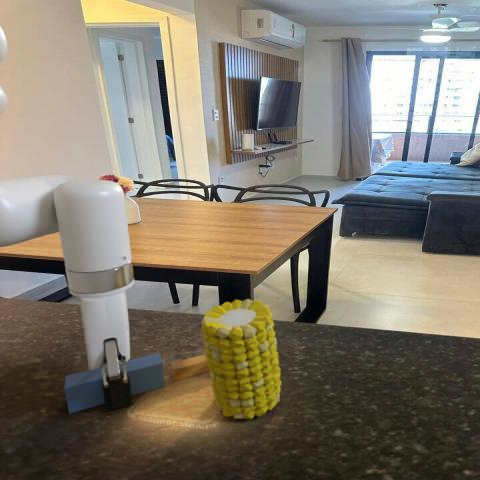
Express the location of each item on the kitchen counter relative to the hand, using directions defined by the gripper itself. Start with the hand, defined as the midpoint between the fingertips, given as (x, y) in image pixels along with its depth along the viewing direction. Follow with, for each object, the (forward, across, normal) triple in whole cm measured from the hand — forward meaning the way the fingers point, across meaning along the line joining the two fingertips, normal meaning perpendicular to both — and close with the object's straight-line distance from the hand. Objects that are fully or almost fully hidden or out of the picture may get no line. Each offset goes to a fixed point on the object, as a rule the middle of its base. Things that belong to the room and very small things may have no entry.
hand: (117, 390), depth 55 cm
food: (+1, +10, +16) cm, 18 cm away
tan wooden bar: (0, 0, +14) cm, 14 cm away
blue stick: (0, 0, 0) cm, 0 cm away
